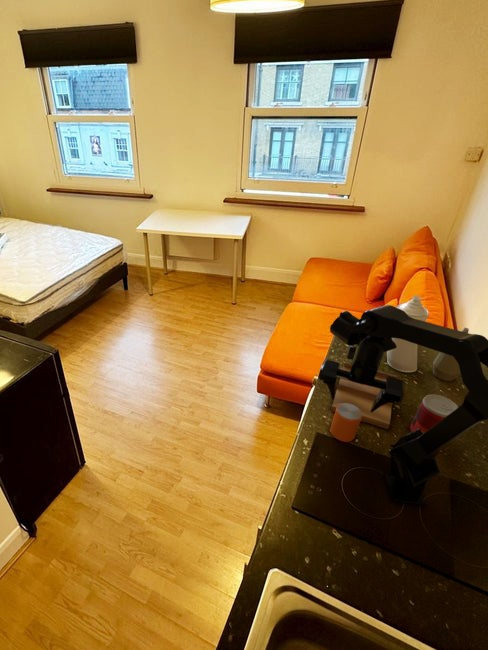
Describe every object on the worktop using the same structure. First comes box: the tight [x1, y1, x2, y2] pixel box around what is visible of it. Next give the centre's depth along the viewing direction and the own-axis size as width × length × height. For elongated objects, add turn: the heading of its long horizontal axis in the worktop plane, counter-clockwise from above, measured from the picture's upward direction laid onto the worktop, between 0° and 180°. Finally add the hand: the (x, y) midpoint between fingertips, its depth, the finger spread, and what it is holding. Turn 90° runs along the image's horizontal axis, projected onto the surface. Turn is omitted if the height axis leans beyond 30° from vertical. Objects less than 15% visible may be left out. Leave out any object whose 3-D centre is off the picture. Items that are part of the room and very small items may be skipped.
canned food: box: [410, 394, 459, 433], centre depth 98 cm, size 8×8×11 cm
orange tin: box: [329, 403, 362, 443], centre depth 99 cm, size 6×6×8 cm
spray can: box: [386, 295, 430, 373], centre depth 119 cm, size 12×11×25 cm
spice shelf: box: [330, 361, 398, 430], centre depth 110 cm, size 18×15×6 cm
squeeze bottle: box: [432, 327, 470, 382], centre depth 116 cm, size 8×8×18 cm
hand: (352, 404), depth 96 cm, fingers open, 9 cm apart
